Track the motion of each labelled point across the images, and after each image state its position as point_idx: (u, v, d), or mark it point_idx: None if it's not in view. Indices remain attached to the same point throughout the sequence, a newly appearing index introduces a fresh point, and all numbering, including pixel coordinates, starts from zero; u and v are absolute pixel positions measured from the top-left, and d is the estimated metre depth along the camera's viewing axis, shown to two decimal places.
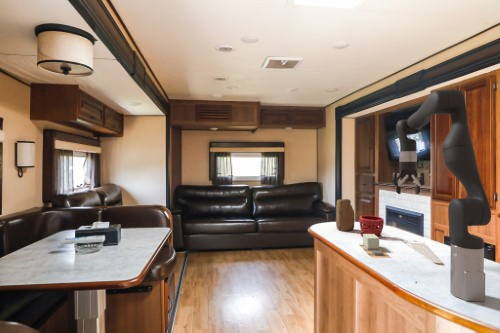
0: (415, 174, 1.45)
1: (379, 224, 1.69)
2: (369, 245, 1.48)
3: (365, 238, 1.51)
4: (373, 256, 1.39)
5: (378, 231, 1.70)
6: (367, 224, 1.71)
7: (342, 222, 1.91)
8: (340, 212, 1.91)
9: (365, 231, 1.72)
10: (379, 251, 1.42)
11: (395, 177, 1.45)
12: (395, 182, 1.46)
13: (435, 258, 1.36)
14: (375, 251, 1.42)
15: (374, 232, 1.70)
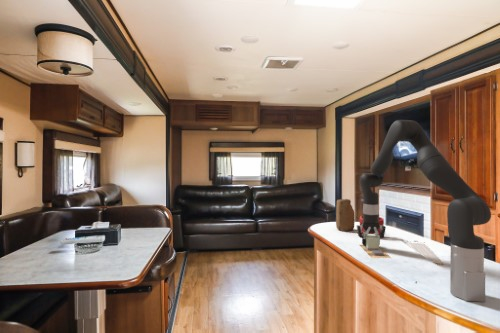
0: (377, 227, 1.50)
1: (379, 224, 1.69)
2: (369, 245, 1.48)
3: (365, 238, 1.51)
4: (373, 256, 1.39)
5: (378, 231, 1.70)
6: None
7: (342, 222, 1.91)
8: (340, 212, 1.91)
9: None
10: (379, 251, 1.42)
11: (359, 230, 1.51)
12: (361, 235, 1.51)
13: (436, 258, 1.36)
14: (375, 251, 1.42)
15: None
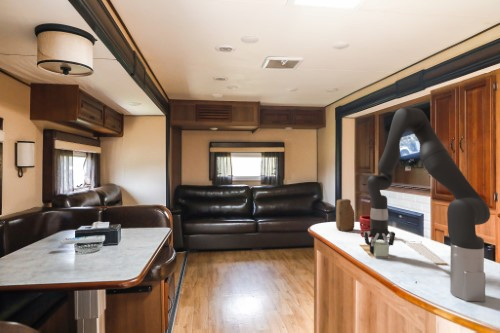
0: (386, 233, 1.38)
1: None
2: (377, 252, 1.36)
3: None
4: (373, 256, 1.39)
5: None
6: (367, 224, 1.71)
7: (342, 222, 1.91)
8: (340, 212, 1.91)
9: None
10: None
11: (366, 237, 1.39)
12: (368, 242, 1.39)
13: (438, 259, 1.36)
14: None
15: None
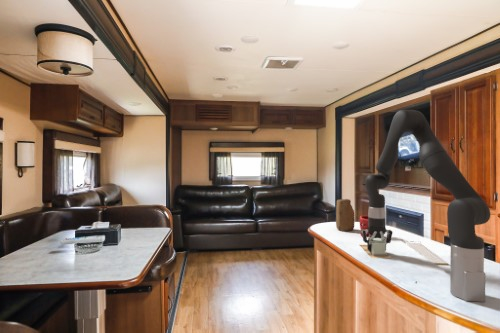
0: (384, 231, 1.41)
1: None
2: (375, 250, 1.39)
3: None
4: (373, 256, 1.39)
5: None
6: (367, 224, 1.71)
7: (342, 222, 1.91)
8: (340, 212, 1.91)
9: None
10: None
11: (364, 235, 1.41)
12: (366, 240, 1.41)
13: (439, 259, 1.36)
14: None
15: None
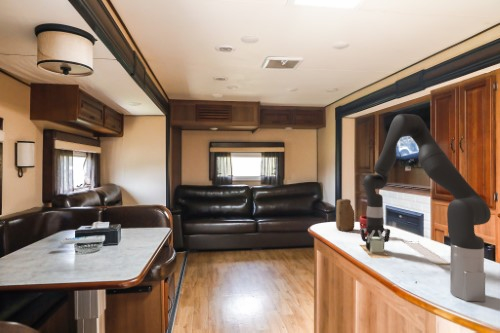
0: (382, 230, 1.44)
1: None
2: (373, 248, 1.42)
3: None
4: (373, 256, 1.39)
5: None
6: None
7: (342, 222, 1.91)
8: (340, 212, 1.91)
9: None
10: None
11: (362, 234, 1.45)
12: (364, 238, 1.45)
13: (441, 259, 1.36)
14: None
15: None
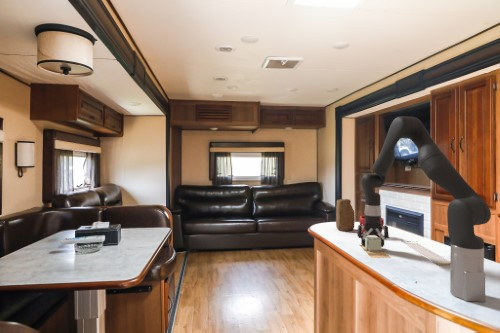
0: (379, 227, 1.47)
1: None
2: (371, 246, 1.45)
3: (367, 239, 1.49)
4: (373, 256, 1.39)
5: None
6: None
7: (342, 222, 1.91)
8: (340, 212, 1.91)
9: None
10: None
11: (359, 230, 1.48)
12: (360, 235, 1.48)
13: (442, 259, 1.36)
14: None
15: None
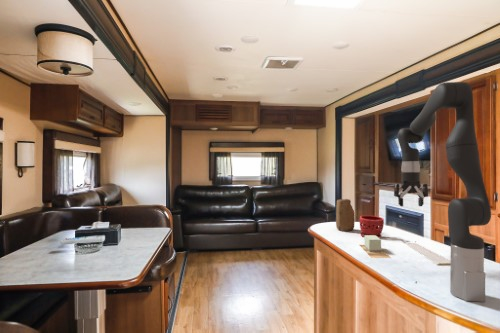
0: (418, 185, 1.37)
1: (379, 224, 1.69)
2: (371, 246, 1.45)
3: (367, 239, 1.49)
4: (373, 256, 1.39)
5: (378, 231, 1.70)
6: (367, 224, 1.71)
7: (342, 222, 1.91)
8: (340, 212, 1.91)
9: (365, 231, 1.72)
10: None
11: (397, 188, 1.38)
12: (397, 194, 1.38)
13: (444, 258, 1.36)
14: None
15: (374, 232, 1.70)
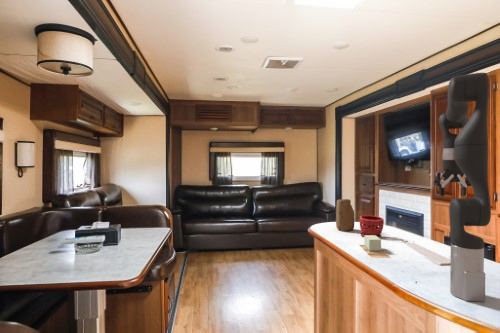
0: (461, 174, 1.29)
1: (379, 224, 1.69)
2: (371, 246, 1.45)
3: (367, 239, 1.49)
4: (373, 256, 1.39)
5: (378, 231, 1.70)
6: (367, 224, 1.71)
7: (342, 222, 1.91)
8: (340, 212, 1.91)
9: (365, 231, 1.72)
10: None
11: (438, 177, 1.29)
12: (438, 183, 1.29)
13: (445, 258, 1.36)
14: None
15: (374, 232, 1.70)
